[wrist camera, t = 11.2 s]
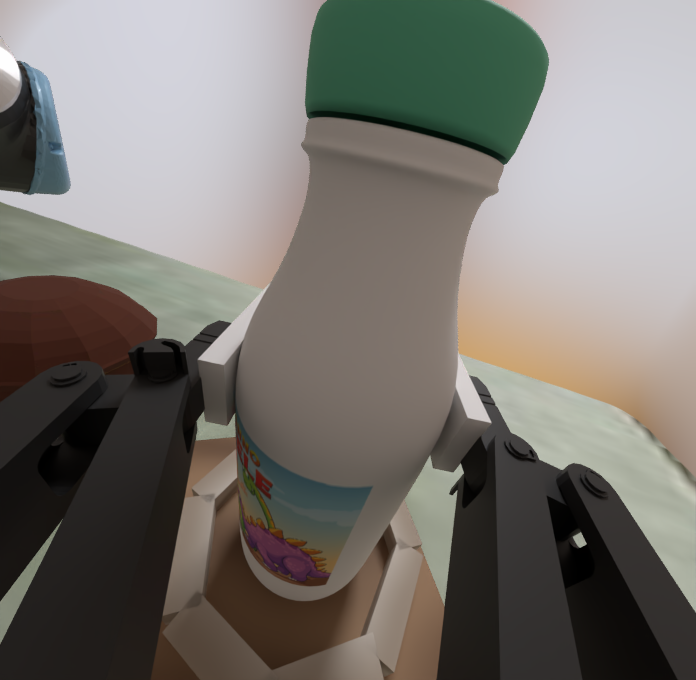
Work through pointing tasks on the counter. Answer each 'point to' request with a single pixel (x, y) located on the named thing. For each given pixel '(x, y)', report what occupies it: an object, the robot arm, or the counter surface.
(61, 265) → the counter surface
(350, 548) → the milk bottle
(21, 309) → the muffin
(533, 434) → the counter surface
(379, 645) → the ring stand
